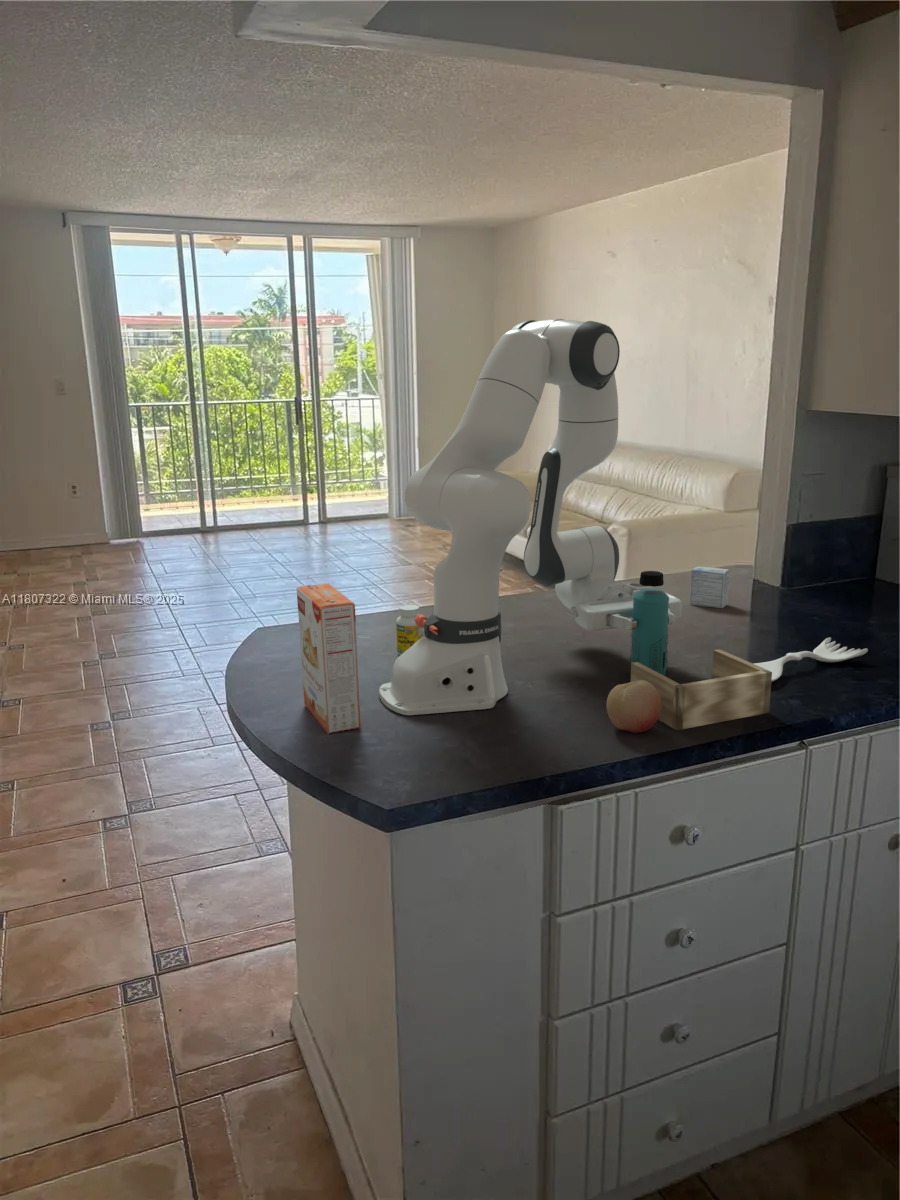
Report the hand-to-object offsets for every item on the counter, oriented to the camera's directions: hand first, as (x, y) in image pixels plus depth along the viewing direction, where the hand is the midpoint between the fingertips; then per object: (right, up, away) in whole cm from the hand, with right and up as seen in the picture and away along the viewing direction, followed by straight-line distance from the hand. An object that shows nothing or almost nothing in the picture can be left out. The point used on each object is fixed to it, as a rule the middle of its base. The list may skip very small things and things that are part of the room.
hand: (652, 622), depth 154 cm
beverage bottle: (0, -11, +4) cm, 11 cm away
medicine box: (+25, +3, +53) cm, 59 cm away
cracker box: (-55, -15, -11) cm, 59 cm away
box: (+5, -14, -9) cm, 17 cm away
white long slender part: (+27, -9, +8) cm, 30 cm away
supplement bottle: (-44, -7, +20) cm, 49 cm away
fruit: (-7, -16, -18) cm, 25 cm away
